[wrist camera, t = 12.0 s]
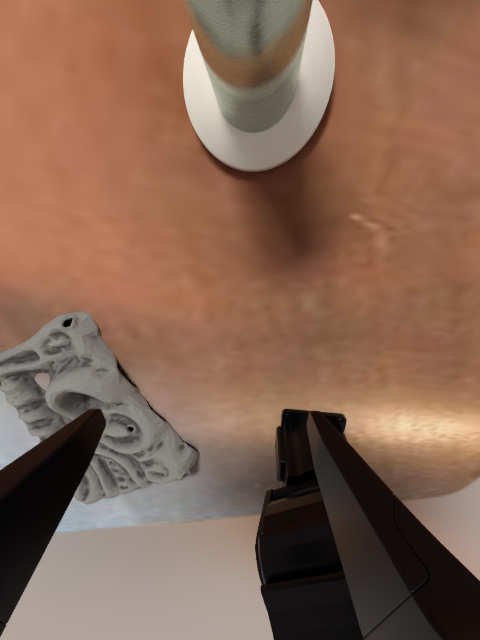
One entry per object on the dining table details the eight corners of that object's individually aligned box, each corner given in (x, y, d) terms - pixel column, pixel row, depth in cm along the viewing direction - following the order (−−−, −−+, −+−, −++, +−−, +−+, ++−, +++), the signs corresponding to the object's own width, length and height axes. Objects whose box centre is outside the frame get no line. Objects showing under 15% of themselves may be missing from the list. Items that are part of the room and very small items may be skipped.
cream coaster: (342, -24, 13) (347, -41, 12) (320, 170, 16) (323, 166, 15) (182, -6, 14) (177, -20, 13) (191, 173, 17) (187, 170, 16)
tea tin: (314, 41, 13) (427, -440, 4) (278, 147, 15) (297, -12, 6) (229, 8, 13) (141, -554, 4) (203, 118, 15) (102, -88, 6)
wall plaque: (207, 458, 28) (197, 490, 24) (98, 488, 32) (76, 519, 29) (96, 294, 22) (62, 303, 18) (-15, 358, 27) (-61, 376, 23)
